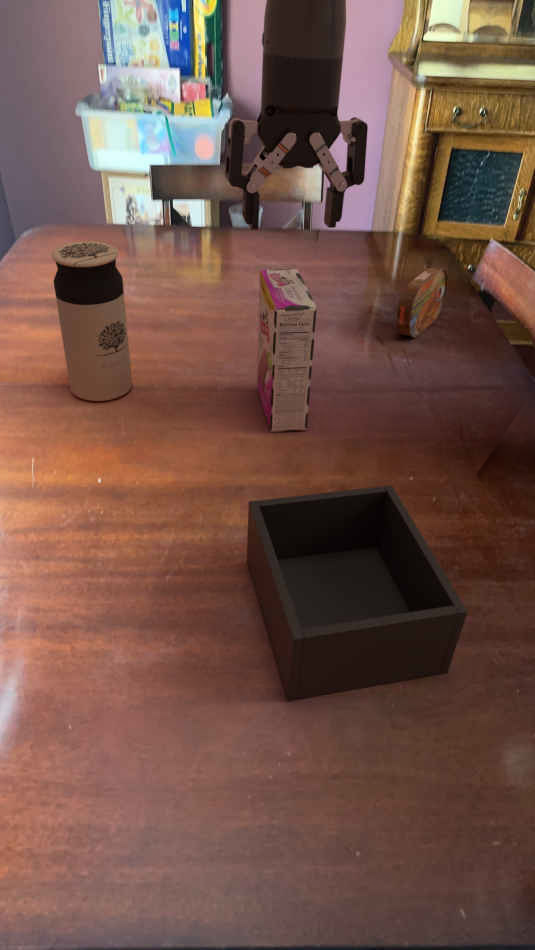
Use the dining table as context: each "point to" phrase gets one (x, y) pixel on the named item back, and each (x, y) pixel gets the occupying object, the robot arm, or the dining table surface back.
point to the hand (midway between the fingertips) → (291, 226)
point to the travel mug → (92, 320)
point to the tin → (421, 301)
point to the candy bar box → (285, 348)
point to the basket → (349, 591)
